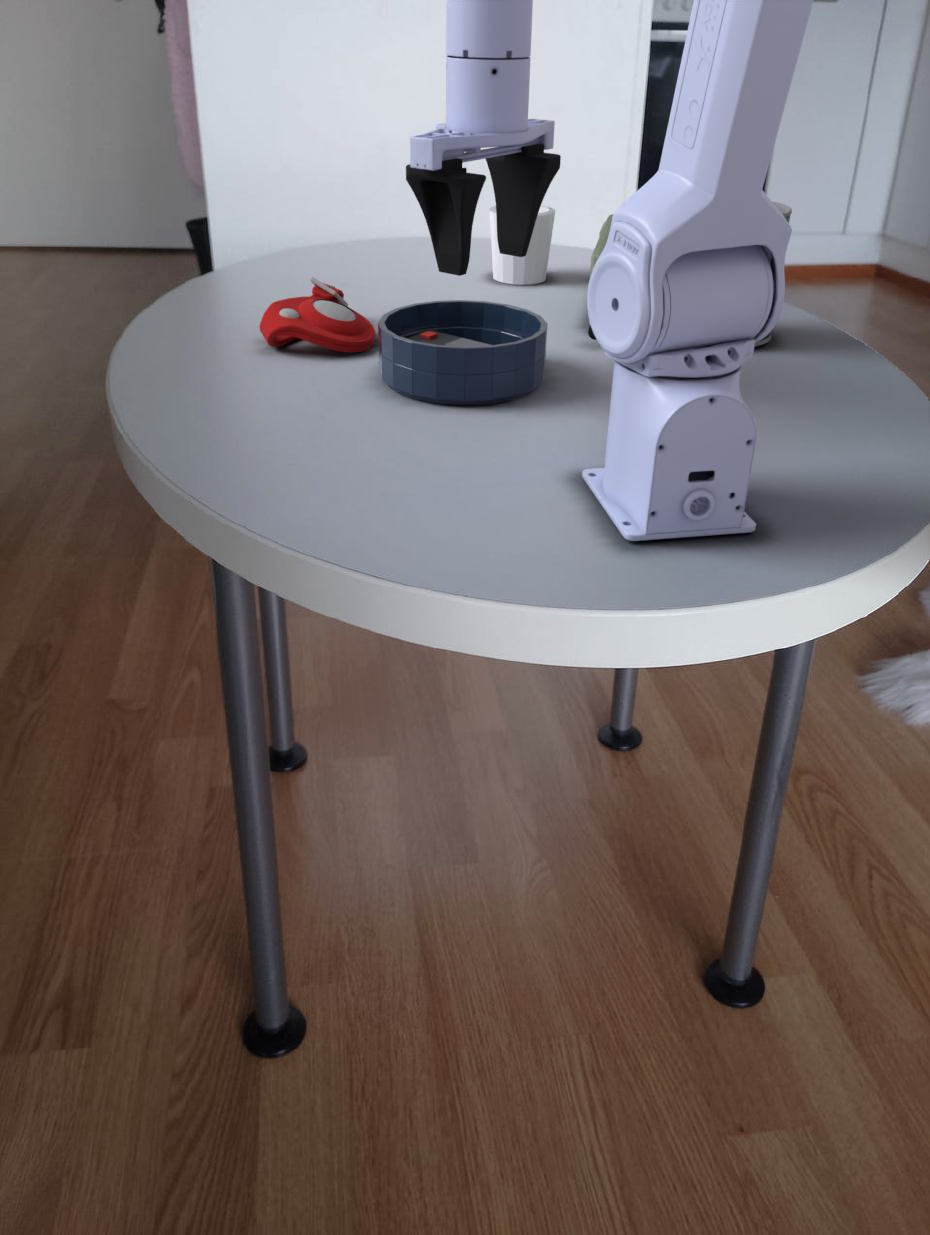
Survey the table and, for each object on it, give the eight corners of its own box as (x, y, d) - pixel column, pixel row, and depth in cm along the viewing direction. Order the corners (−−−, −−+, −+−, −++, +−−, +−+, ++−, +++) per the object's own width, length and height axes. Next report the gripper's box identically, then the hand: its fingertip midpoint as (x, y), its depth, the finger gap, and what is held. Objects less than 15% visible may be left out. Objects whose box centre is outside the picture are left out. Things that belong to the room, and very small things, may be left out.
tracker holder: (398, 336, 89) (290, 323, 84) (383, 382, 92) (277, 372, 86) (345, 271, 97) (242, 255, 91) (332, 315, 99) (231, 303, 94)
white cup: (479, 282, 110) (481, 212, 106) (496, 268, 115) (499, 200, 112) (543, 288, 108) (547, 217, 105) (558, 273, 114) (562, 205, 110)
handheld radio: (632, 279, 112) (615, 348, 91) (601, 278, 113) (576, 347, 92) (635, 213, 109) (618, 269, 88) (603, 213, 109) (579, 268, 88)
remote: (519, 379, 83) (521, 347, 81) (494, 390, 80) (495, 358, 79) (430, 356, 87) (430, 325, 86) (403, 366, 85) (403, 335, 84)
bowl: (562, 403, 80) (566, 344, 77) (391, 411, 77) (390, 351, 75) (522, 350, 90) (524, 297, 88) (371, 356, 88) (370, 302, 86)
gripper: (502, 50, 78) (496, 240, 85) (372, 58, 68) (378, 272, 75) (583, 54, 75) (570, 252, 82) (459, 64, 65) (456, 288, 72)
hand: (483, 263), depth 78 cm, fingers open, 7 cm apart
